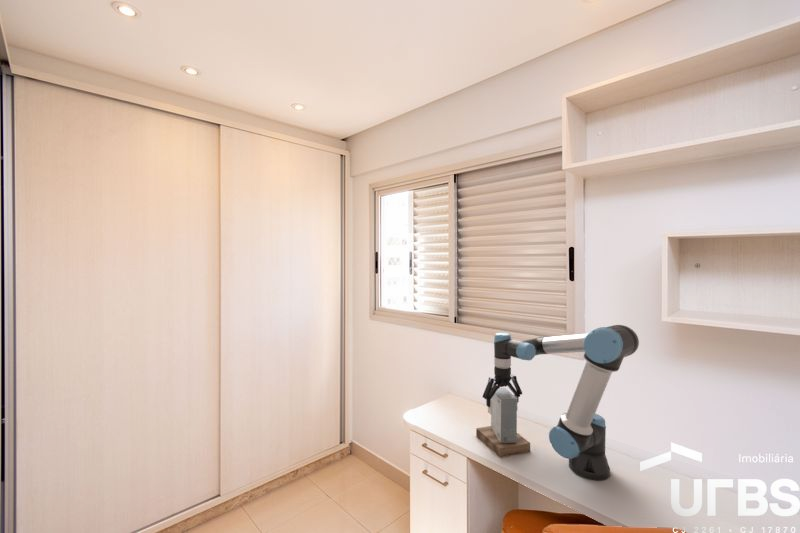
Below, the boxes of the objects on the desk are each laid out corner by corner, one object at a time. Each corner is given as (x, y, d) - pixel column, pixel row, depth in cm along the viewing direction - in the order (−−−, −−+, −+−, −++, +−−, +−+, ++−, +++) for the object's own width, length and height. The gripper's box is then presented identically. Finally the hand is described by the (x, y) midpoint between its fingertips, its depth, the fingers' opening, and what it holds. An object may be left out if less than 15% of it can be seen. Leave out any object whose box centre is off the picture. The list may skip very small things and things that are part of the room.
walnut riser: (530, 451, 160) (530, 442, 160) (499, 457, 155) (499, 448, 155) (504, 431, 179) (504, 423, 179) (476, 436, 174) (476, 428, 174)
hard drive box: (517, 443, 159) (517, 399, 159) (500, 443, 159) (500, 399, 159) (505, 427, 175) (505, 387, 175) (490, 427, 174) (490, 387, 174)
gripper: (519, 361, 174) (520, 405, 174) (475, 366, 166) (475, 411, 166) (529, 366, 167) (530, 411, 167) (483, 371, 159) (483, 418, 159)
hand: (502, 411), depth 167 cm, fingers open, 13 cm apart
